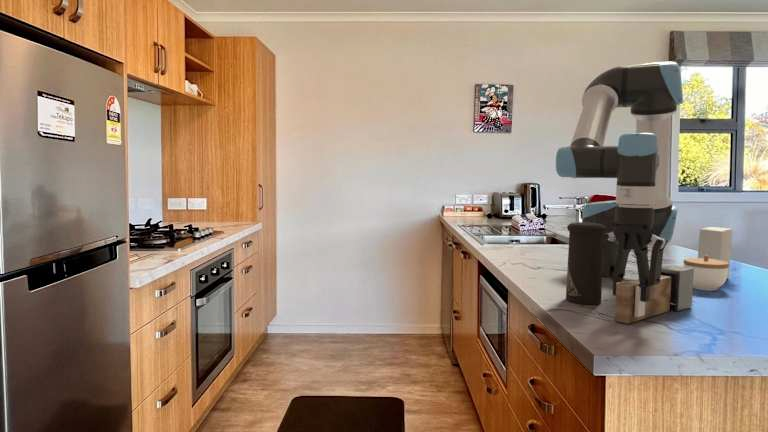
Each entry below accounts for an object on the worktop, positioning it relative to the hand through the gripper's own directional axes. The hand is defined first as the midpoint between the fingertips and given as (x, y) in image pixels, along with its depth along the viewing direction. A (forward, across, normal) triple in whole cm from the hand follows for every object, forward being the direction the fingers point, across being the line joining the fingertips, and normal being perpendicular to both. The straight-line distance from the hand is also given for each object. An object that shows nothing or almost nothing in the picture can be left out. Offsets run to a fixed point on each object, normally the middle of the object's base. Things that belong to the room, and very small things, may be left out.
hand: (629, 313), depth 110 cm
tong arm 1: (+1, -1, +6) cm, 6 cm away
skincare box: (+2, -10, +64) cm, 65 cm away
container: (+2, -16, +7) cm, 18 cm away
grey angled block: (+1, 0, +19) cm, 20 cm away
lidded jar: (+2, -5, +48) cm, 48 cm away
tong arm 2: (+1, +1, +6) cm, 6 cm away
